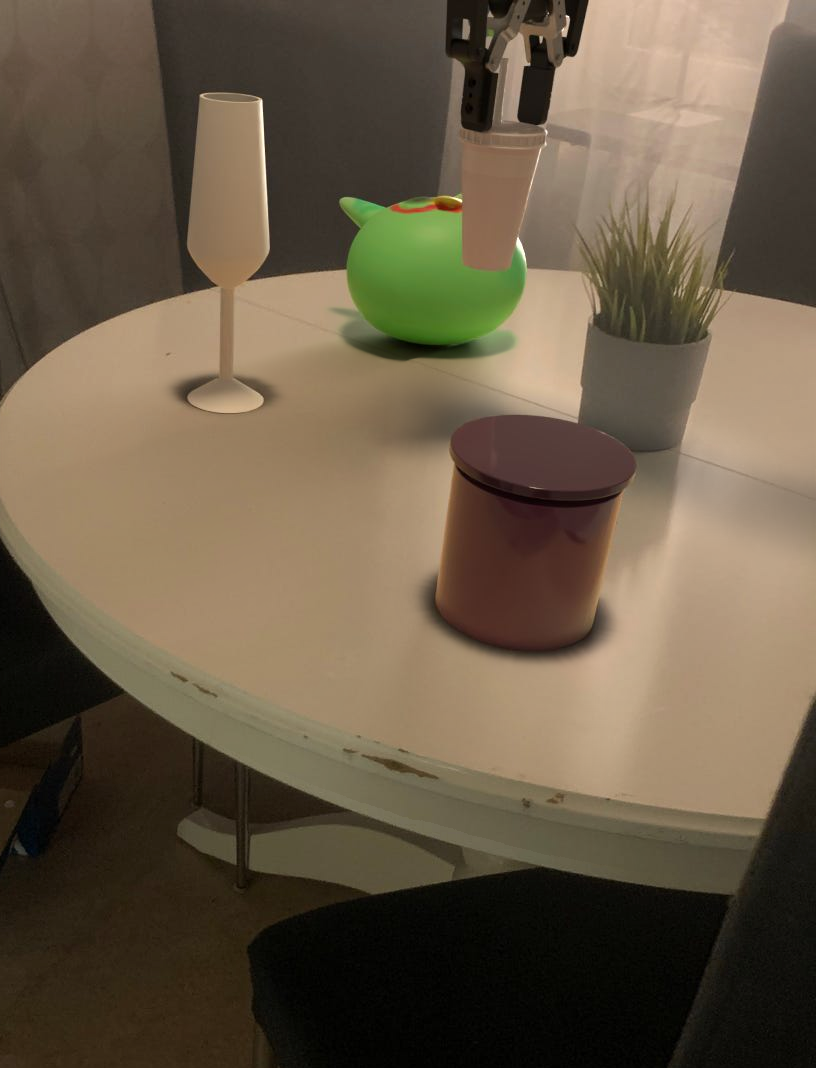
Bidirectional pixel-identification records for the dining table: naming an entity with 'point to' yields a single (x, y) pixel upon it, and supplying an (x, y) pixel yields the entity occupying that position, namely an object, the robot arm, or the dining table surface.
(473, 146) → the smoothie
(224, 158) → the champagne flute
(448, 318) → the green rounded blob
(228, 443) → the dining table surface
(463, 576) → the jar
